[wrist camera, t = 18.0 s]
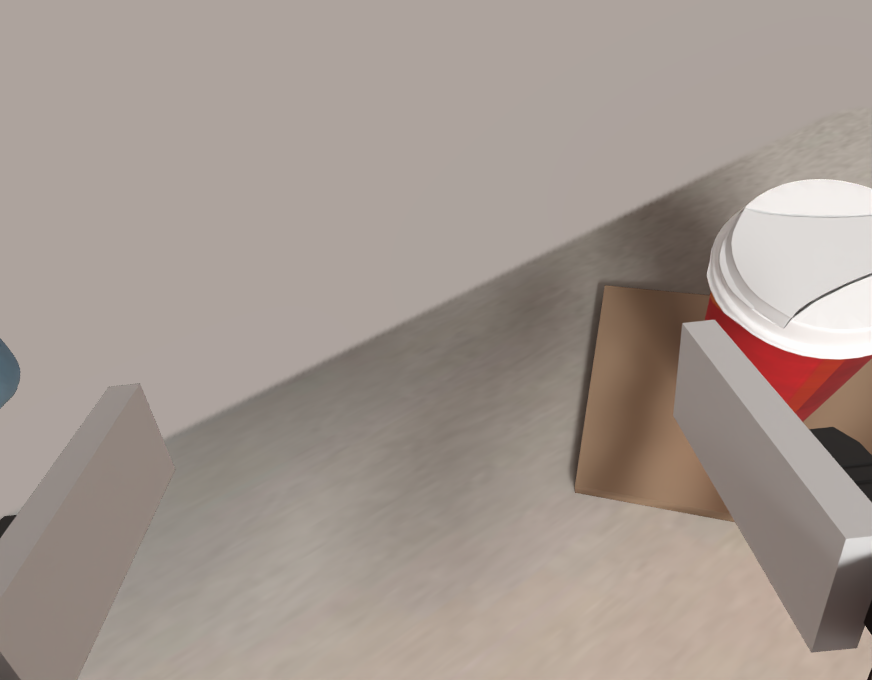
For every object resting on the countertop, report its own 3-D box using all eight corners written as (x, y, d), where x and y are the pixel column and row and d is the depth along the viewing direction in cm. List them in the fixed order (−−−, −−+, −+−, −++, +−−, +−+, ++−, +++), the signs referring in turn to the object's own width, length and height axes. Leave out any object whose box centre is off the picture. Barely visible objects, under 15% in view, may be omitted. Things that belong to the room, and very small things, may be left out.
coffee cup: (792, 327, 39) (894, 150, 27) (846, 455, 35) (998, 320, 22) (653, 350, 41) (687, 191, 28) (689, 476, 36) (749, 359, 24)
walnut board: (575, 492, 39) (574, 485, 37) (604, 297, 45) (604, 285, 43) (921, 556, 34) (935, 551, 32) (902, 326, 40) (913, 314, 38)
